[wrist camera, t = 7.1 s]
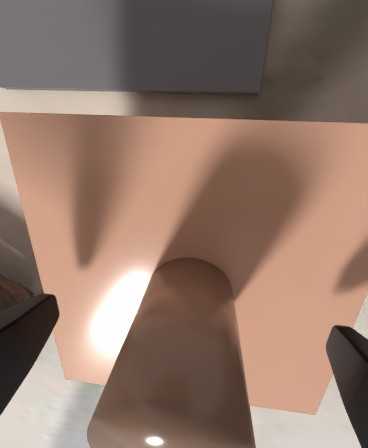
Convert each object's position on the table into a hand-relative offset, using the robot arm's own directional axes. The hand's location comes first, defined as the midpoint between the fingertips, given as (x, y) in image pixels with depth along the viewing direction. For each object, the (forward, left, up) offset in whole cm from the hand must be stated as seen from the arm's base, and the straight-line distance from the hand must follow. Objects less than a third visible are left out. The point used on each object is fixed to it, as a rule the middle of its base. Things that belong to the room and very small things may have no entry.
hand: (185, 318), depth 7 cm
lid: (0, 0, -2) cm, 2 cm away
